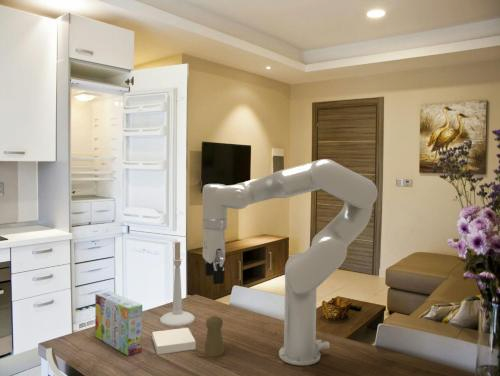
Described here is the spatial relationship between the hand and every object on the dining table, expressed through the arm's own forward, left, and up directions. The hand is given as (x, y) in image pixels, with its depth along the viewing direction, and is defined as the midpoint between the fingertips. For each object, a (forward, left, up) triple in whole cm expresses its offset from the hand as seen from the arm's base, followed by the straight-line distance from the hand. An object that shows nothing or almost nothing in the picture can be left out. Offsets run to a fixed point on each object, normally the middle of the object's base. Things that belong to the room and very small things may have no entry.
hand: (214, 279), depth 130 cm
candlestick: (+6, -31, -23) cm, 39 cm away
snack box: (+28, -16, -23) cm, 40 cm away
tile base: (+11, -10, -23) cm, 27 cm away
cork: (0, 0, -23) cm, 23 cm away
